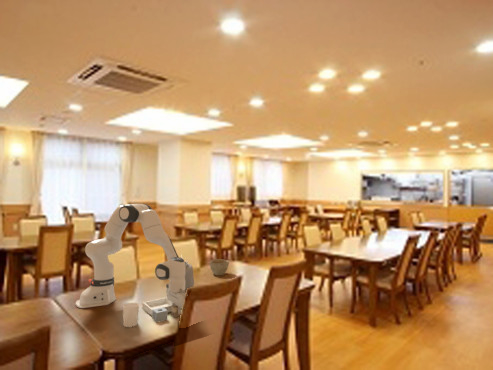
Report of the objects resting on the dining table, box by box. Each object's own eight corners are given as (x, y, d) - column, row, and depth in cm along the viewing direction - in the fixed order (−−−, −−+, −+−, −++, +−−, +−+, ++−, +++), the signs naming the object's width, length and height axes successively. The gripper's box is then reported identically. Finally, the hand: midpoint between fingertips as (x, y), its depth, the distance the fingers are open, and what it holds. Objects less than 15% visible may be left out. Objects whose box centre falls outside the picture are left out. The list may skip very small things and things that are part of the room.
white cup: (133, 320, 171) (133, 301, 171) (141, 324, 166) (141, 305, 166) (119, 325, 165) (119, 305, 165) (127, 329, 160) (128, 309, 160)
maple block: (174, 317, 176) (175, 308, 176) (171, 314, 180) (171, 306, 180) (182, 315, 179) (182, 307, 179) (178, 312, 183) (178, 304, 183)
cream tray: (152, 316, 177) (152, 310, 177) (142, 308, 189) (142, 302, 189) (177, 310, 186) (177, 304, 186) (166, 303, 198) (166, 297, 198)
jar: (183, 295, 214) (184, 257, 214) (165, 292, 219) (165, 255, 220) (197, 287, 231) (198, 252, 232) (180, 284, 237) (181, 250, 237)
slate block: (156, 322, 169) (156, 312, 169) (152, 318, 174) (152, 309, 174) (167, 319, 173) (167, 310, 173) (162, 316, 177) (163, 307, 178)
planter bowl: (232, 273, 270) (232, 260, 271) (221, 277, 257) (221, 264, 257) (217, 270, 279) (217, 258, 279) (205, 274, 265) (205, 261, 265)
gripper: (191, 290, 173) (190, 316, 173) (174, 281, 190) (174, 305, 189) (180, 292, 170) (180, 319, 169) (164, 283, 186) (164, 307, 185)
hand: (176, 311), depth 179 cm, fingers closed on maple block, 4 cm apart
